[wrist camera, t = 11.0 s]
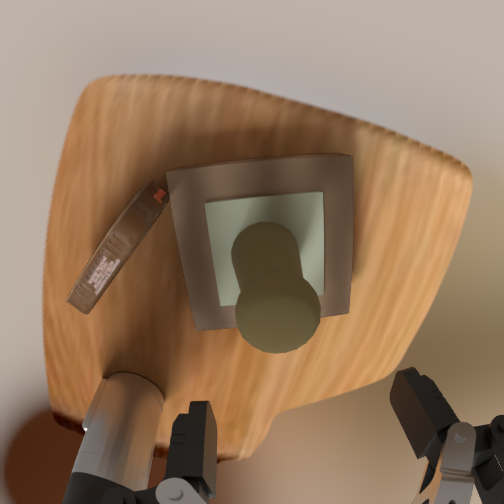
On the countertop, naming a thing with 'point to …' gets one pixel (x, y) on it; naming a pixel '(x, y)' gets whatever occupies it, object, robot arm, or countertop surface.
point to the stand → (263, 210)
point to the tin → (117, 246)
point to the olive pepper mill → (273, 290)
